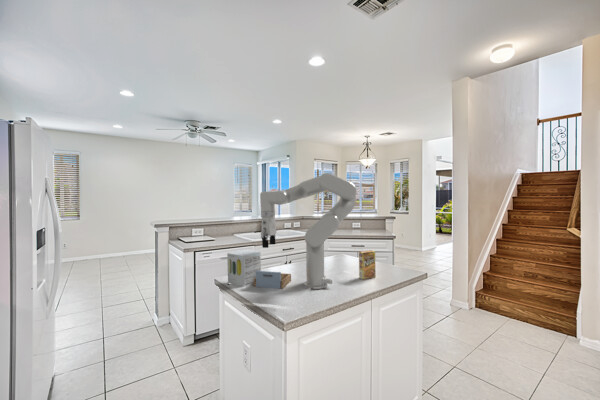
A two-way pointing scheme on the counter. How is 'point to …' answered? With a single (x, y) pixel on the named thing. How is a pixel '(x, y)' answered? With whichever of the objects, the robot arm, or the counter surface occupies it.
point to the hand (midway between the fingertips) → (269, 245)
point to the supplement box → (243, 266)
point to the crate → (284, 280)
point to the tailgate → (268, 279)
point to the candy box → (367, 264)
